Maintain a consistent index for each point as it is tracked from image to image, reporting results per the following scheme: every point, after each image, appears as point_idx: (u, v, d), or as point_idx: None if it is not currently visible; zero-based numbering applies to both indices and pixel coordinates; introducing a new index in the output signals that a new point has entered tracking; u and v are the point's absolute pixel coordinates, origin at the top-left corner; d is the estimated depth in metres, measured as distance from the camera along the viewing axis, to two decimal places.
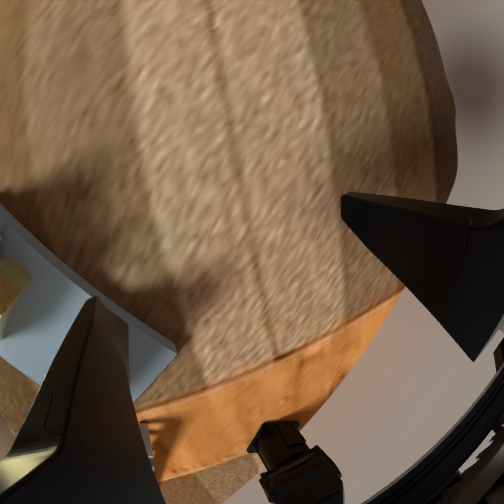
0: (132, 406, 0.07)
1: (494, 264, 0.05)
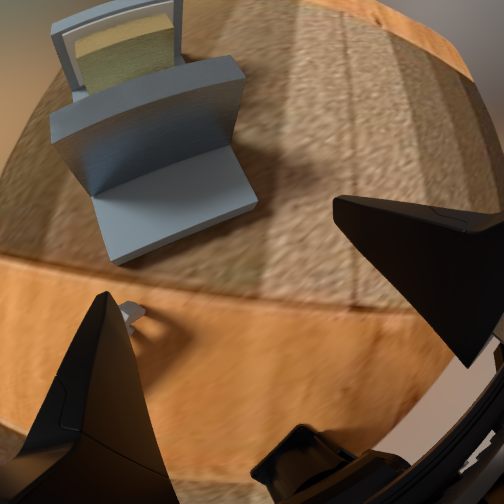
0: (144, 402, 0.07)
1: (489, 270, 0.05)
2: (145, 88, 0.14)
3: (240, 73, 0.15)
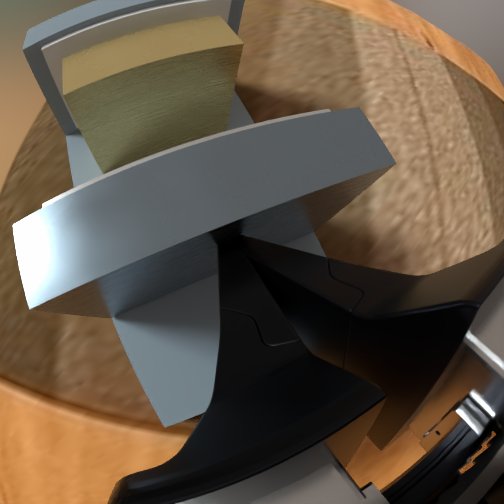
0: None
1: (387, 367, 0.04)
2: (219, 177, 0.07)
3: (385, 152, 0.09)
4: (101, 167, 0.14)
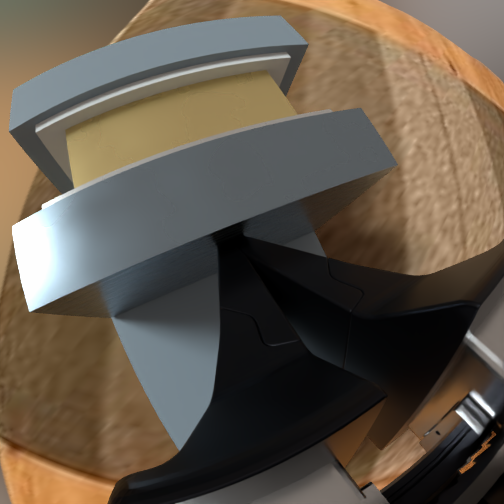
0: None
1: (387, 367, 0.04)
2: (220, 179, 0.07)
3: (387, 153, 0.09)
4: None
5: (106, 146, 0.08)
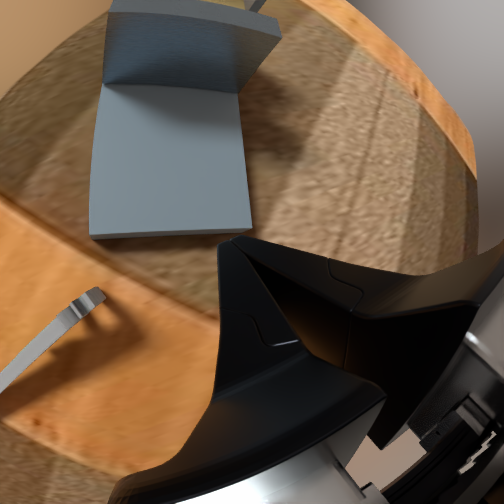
0: None
1: (387, 367, 0.04)
2: (201, 9, 0.14)
3: (279, 33, 0.16)
4: None
5: None
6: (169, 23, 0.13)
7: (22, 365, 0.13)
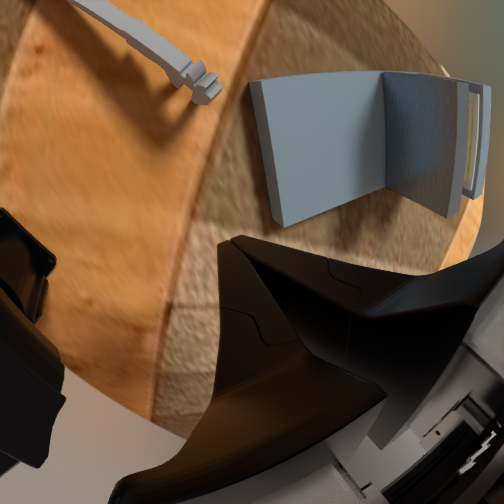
0: None
1: (387, 367, 0.04)
2: (461, 152, 0.18)
3: (449, 215, 0.21)
4: None
5: None
6: (448, 129, 0.17)
7: (120, 24, 0.11)
